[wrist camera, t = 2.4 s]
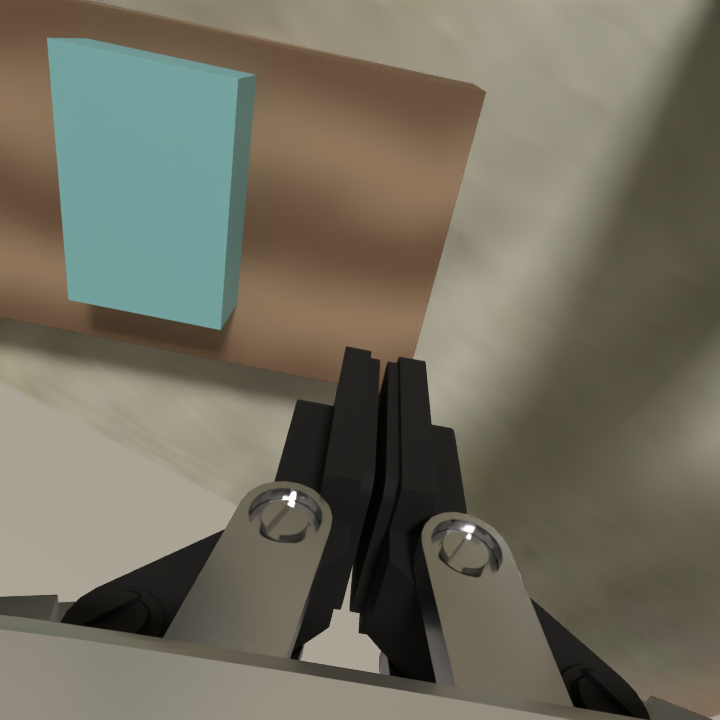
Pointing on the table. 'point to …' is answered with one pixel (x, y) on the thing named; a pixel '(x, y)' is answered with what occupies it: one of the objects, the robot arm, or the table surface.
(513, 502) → the table surface
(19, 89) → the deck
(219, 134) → the teal rectangular block
